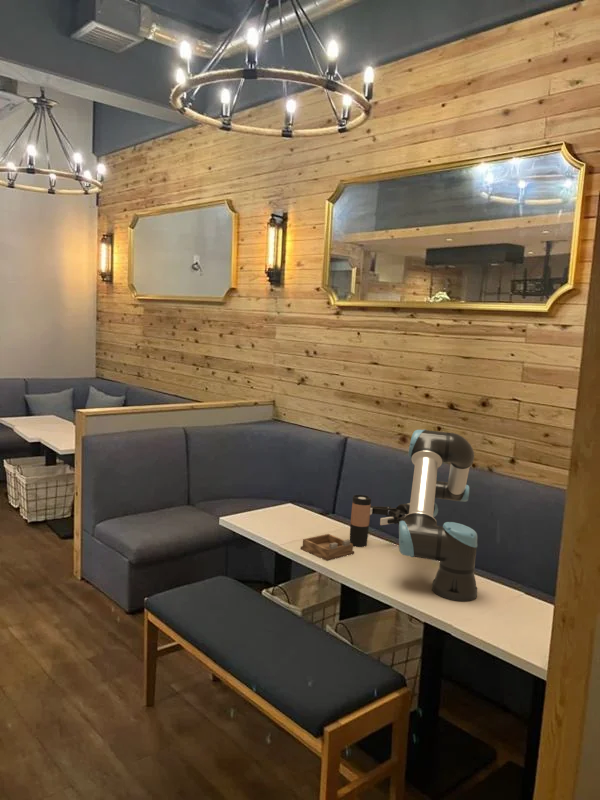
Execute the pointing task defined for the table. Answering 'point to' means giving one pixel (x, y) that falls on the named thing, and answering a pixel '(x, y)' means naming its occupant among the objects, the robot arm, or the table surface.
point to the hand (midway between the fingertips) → (370, 517)
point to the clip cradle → (327, 547)
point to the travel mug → (360, 520)
